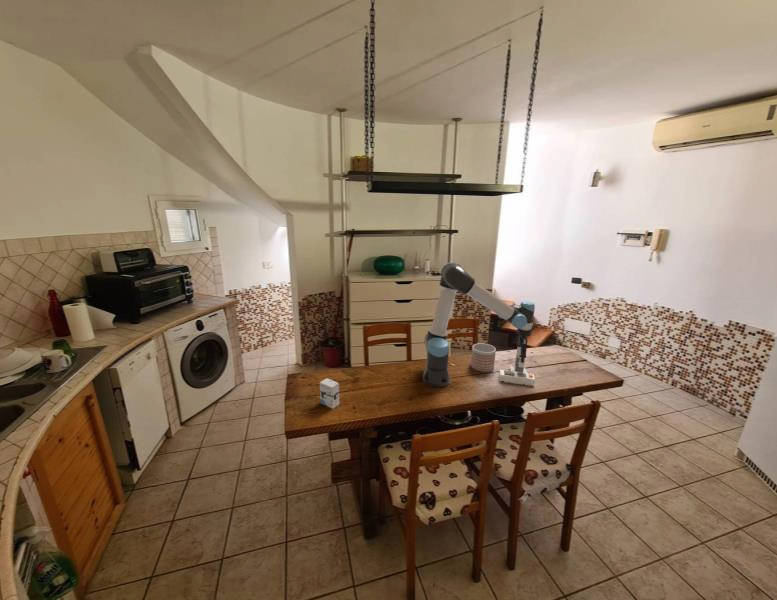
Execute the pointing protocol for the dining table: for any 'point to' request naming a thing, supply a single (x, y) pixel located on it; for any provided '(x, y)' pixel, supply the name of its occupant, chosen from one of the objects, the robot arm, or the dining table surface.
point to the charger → (517, 368)
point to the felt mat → (514, 369)
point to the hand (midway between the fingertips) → (519, 362)
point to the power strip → (517, 377)
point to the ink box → (329, 393)
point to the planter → (483, 357)
